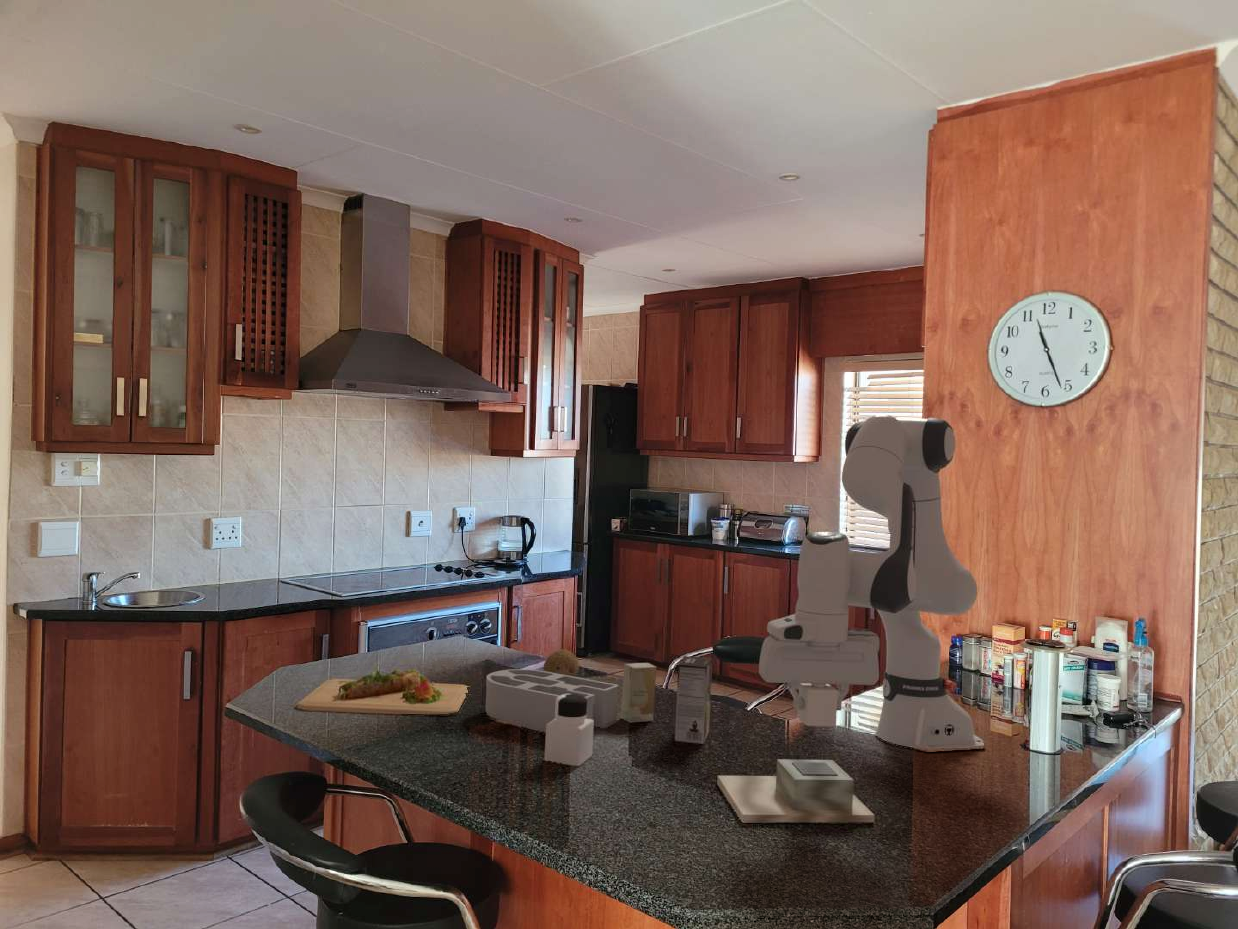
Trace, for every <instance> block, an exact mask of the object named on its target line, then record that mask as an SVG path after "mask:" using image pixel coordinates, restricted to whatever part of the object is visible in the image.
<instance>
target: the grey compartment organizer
mask: <svg viewBox="0 0 1238 929" xmlns="http://www.w3.org/2000/svg"><path fill="white" fill-rule="evenodd" d="M485 677H486V679H485V686H486V697H485V712H486V713H487V714H486V716H487V715H489V716H490V717H492V718H496V719H499V720H502V721H505V722H509V723H511V724H517V725H520V726H523V727H526V728H530V729H533V730H540V731H544V732H546V725H547V723H549V722H551V721H552V720H554V719H555V703H556V698H557V697H558V696H560V695H563V694H578V695H581V696H583V697H585V698H586V699H587V715H586V719H592V720H594V726H596V727H595V728H597V727H600V728H599V729H601V728H603V729H602V730H604V729H606V728H608V727H610V725H611V726H613V725H614V724H616V722H617V719H618V718H617V715H618V699H619V697H618V695H619V694H620V684H614V683H608V682H606V681H604V682H603V681H599V680H595V679H594V680H593V679H589V678H583V677H578V676H576V677H573V676H568V675H562V674H557V673H552V672H546V671H543V670H539V669H530V668H529V669H527V668H525V669H524V668H520V669H519V668H518V669H517V668H516V669H514V668H513V669H512V668H511V669H502V670H496V671H493V672H490V673H489V674H487V675H486V676H485ZM612 724H613V725H612Z"/></svg>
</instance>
